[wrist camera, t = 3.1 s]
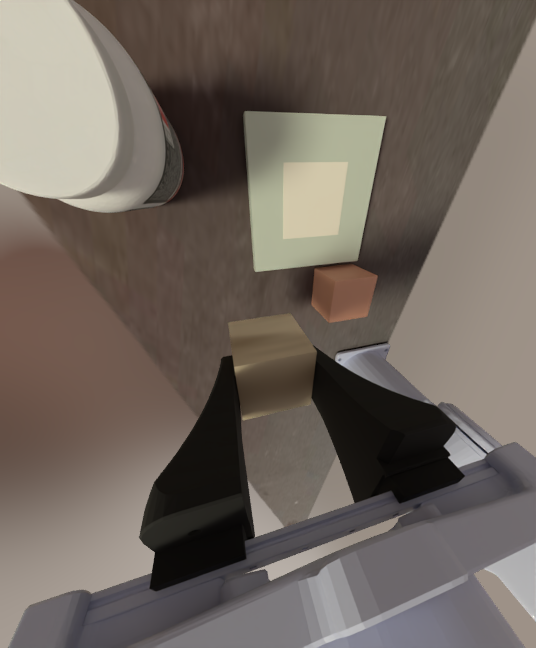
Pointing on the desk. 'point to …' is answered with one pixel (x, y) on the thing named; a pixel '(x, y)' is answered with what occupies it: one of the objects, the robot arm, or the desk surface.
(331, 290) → the terracotta cube
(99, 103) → the pill bottle
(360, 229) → the board
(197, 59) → the desk surface
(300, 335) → the beech cube
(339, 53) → the desk surface
